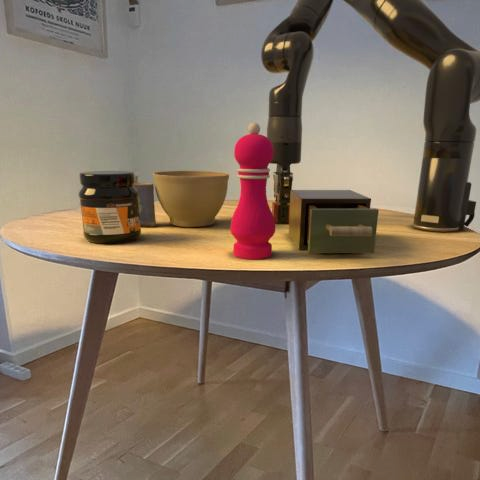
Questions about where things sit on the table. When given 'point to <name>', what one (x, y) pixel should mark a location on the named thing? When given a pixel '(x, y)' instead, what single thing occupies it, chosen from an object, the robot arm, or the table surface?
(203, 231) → the table surface
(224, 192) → the planter bowl
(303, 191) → the cabinet
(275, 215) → the block
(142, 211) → the flask
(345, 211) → the drawer
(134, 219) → the supplement container
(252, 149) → the pepper mill
